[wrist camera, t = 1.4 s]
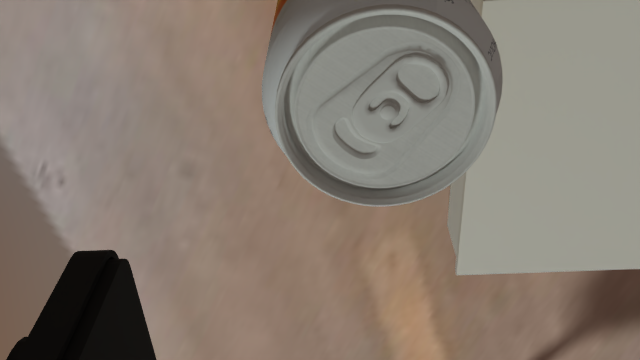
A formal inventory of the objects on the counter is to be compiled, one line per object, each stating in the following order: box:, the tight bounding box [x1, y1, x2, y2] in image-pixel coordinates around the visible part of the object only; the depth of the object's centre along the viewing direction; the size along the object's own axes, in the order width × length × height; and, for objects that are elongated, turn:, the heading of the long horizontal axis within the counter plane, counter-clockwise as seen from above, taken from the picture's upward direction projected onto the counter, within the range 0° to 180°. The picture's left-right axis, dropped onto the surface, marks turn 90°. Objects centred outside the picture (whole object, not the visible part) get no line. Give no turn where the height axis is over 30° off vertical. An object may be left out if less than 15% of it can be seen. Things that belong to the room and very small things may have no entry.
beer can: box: [262, 0, 503, 206], centre depth 21 cm, size 6×6×15 cm
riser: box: [447, 0, 640, 275], centre depth 30 cm, size 14×12×4 cm
